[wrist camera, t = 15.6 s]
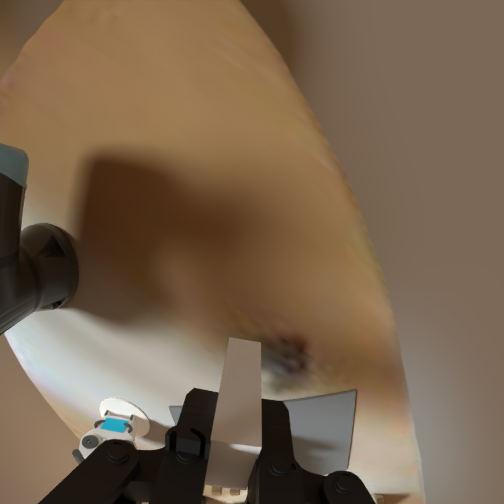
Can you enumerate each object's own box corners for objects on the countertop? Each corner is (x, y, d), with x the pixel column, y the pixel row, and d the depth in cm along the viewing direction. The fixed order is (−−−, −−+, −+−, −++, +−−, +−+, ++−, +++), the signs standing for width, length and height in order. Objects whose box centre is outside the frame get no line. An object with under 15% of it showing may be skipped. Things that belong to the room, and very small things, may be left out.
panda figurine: (145, 401, 50) (119, 456, 35) (158, 439, 52) (139, 492, 37) (93, 393, 50) (60, 440, 35) (109, 431, 52) (84, 477, 38)
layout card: (200, 480, 55) (200, 482, 54) (169, 405, 49) (168, 407, 49) (346, 468, 53) (346, 470, 53) (355, 389, 48) (356, 391, 47)
